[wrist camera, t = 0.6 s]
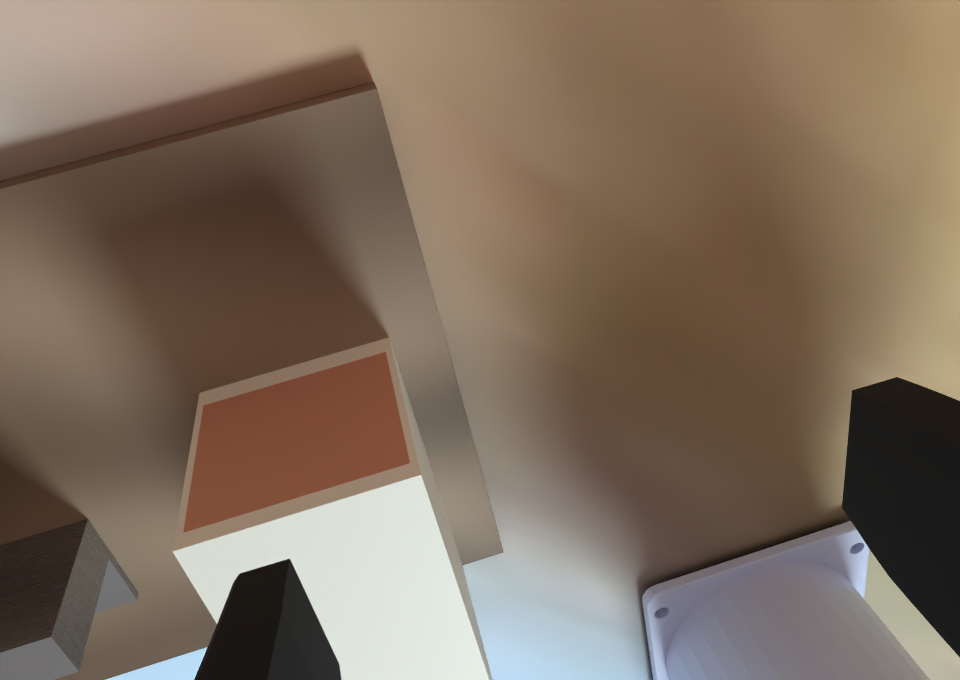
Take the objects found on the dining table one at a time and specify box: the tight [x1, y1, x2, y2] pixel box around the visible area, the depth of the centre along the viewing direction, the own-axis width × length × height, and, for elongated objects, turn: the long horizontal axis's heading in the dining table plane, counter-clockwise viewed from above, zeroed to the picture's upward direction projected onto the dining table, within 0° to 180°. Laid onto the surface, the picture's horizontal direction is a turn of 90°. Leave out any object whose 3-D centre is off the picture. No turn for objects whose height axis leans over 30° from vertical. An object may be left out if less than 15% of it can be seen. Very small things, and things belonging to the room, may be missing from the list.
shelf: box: [0, 82, 503, 680], centre depth 17 cm, size 14×16×4 cm
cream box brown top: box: [172, 337, 492, 680], centre depth 18 cm, size 4×8×5 cm, turn 12°
